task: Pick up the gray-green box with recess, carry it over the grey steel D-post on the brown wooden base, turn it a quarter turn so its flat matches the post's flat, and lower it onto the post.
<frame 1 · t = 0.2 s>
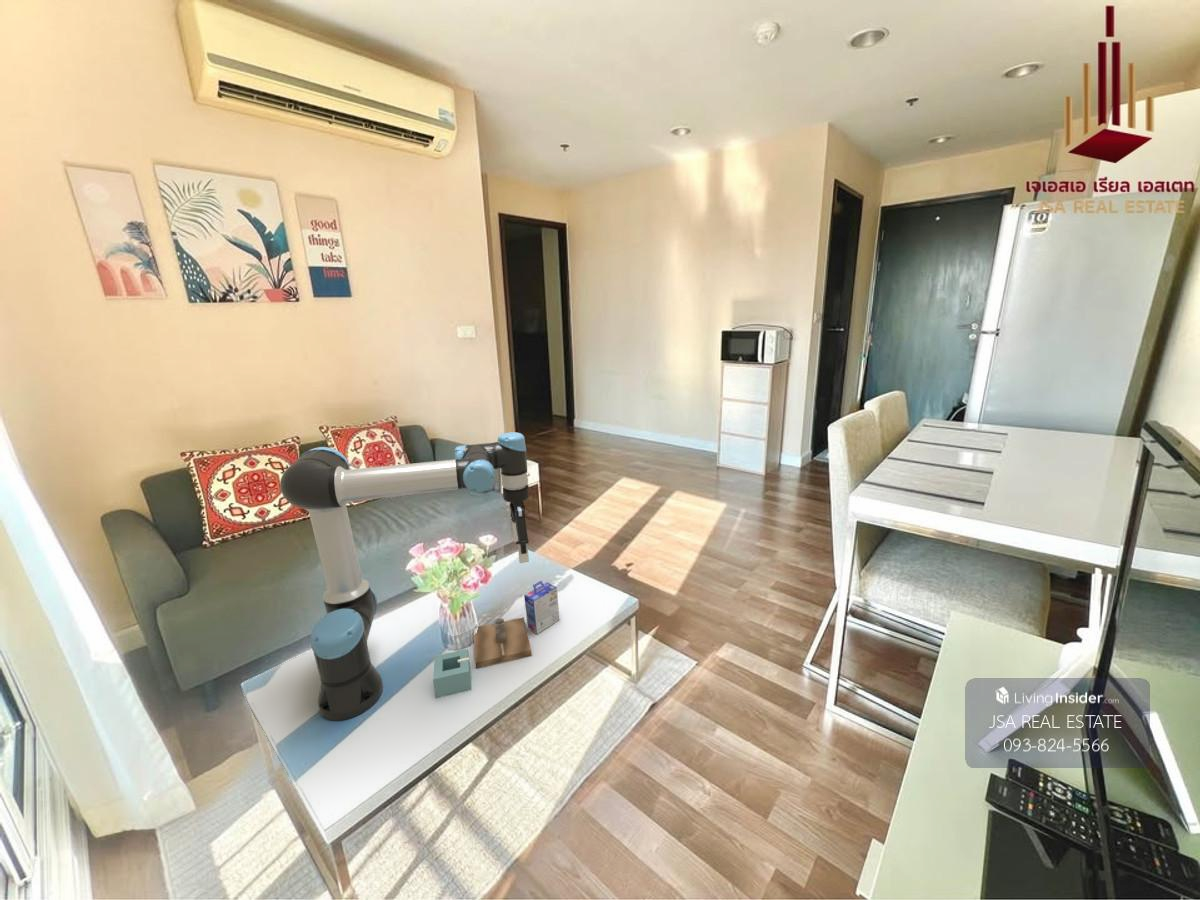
hand: (520, 551, 140), 28 cm above the table, fingers open, 13 cm apart
brown wooden base: (501, 643, 141), on the table
ink cartridge box: (543, 624, 150), on the table
gray-green box with recess: (453, 681, 127), on the table
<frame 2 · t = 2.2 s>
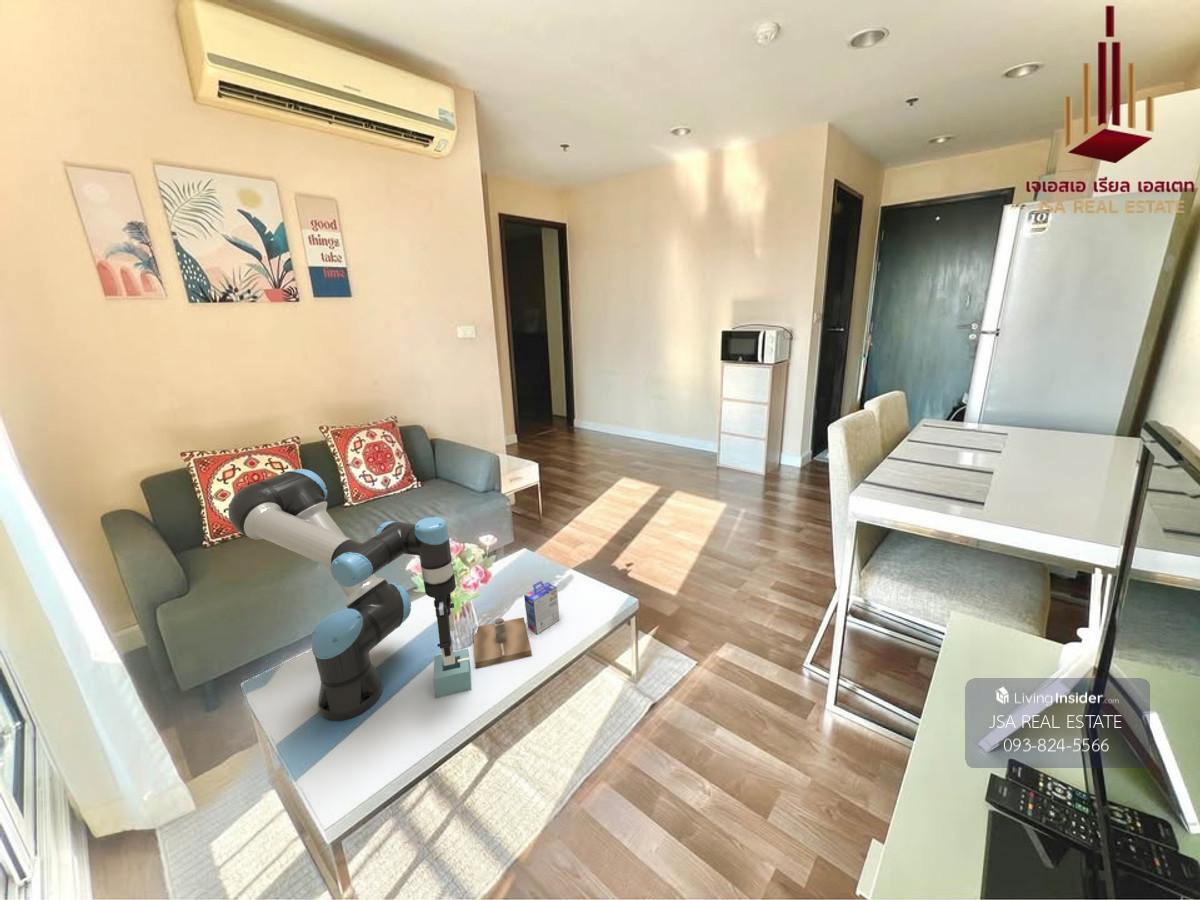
hand: (449, 646, 124), 12 cm above the table, fingers open, 13 cm apart
nothing on the table moved.
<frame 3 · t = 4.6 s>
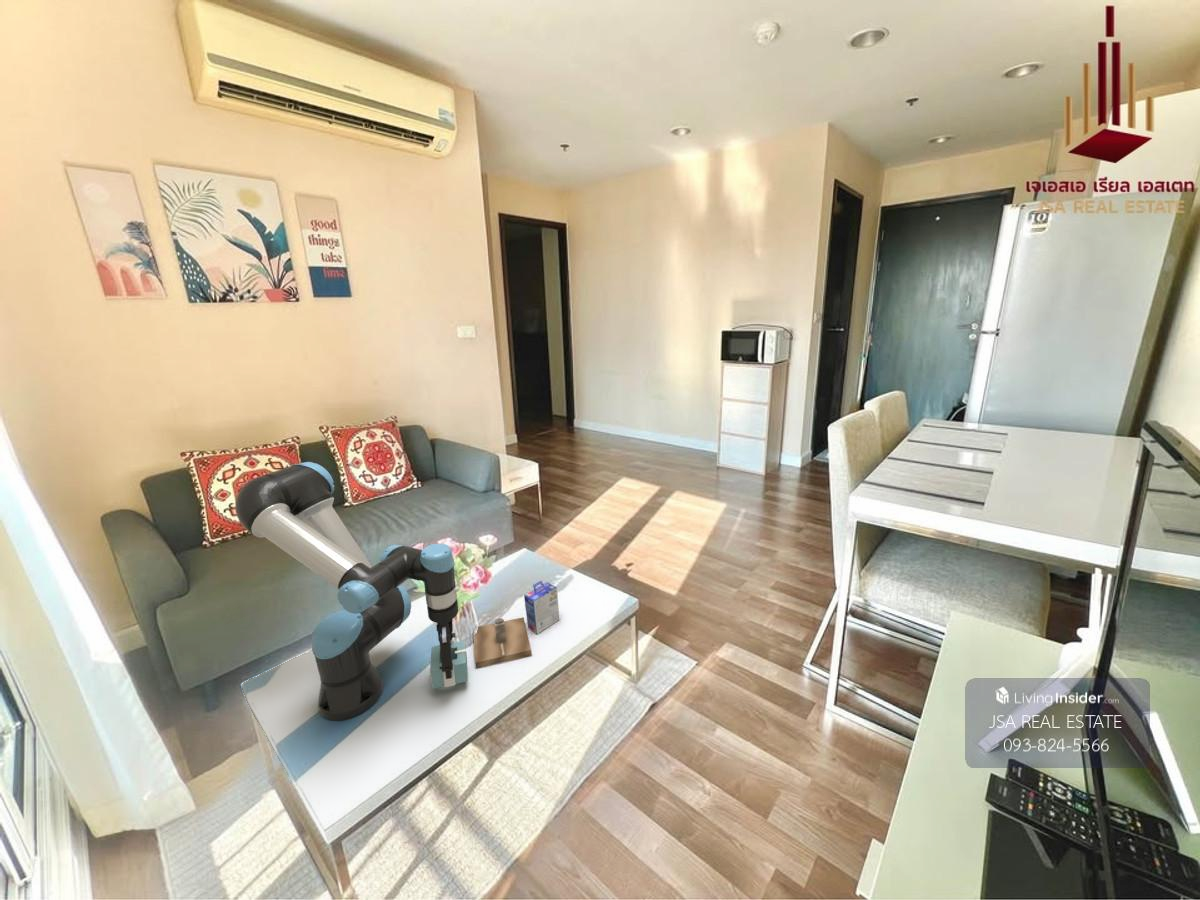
hand: (450, 671, 127), 3 cm above the table, fingers closed on gray-green box with recess, 9 cm apart
gray-green box with recess: (450, 672, 127), point 3 cm above the table, touching gripper
everything else where it was.
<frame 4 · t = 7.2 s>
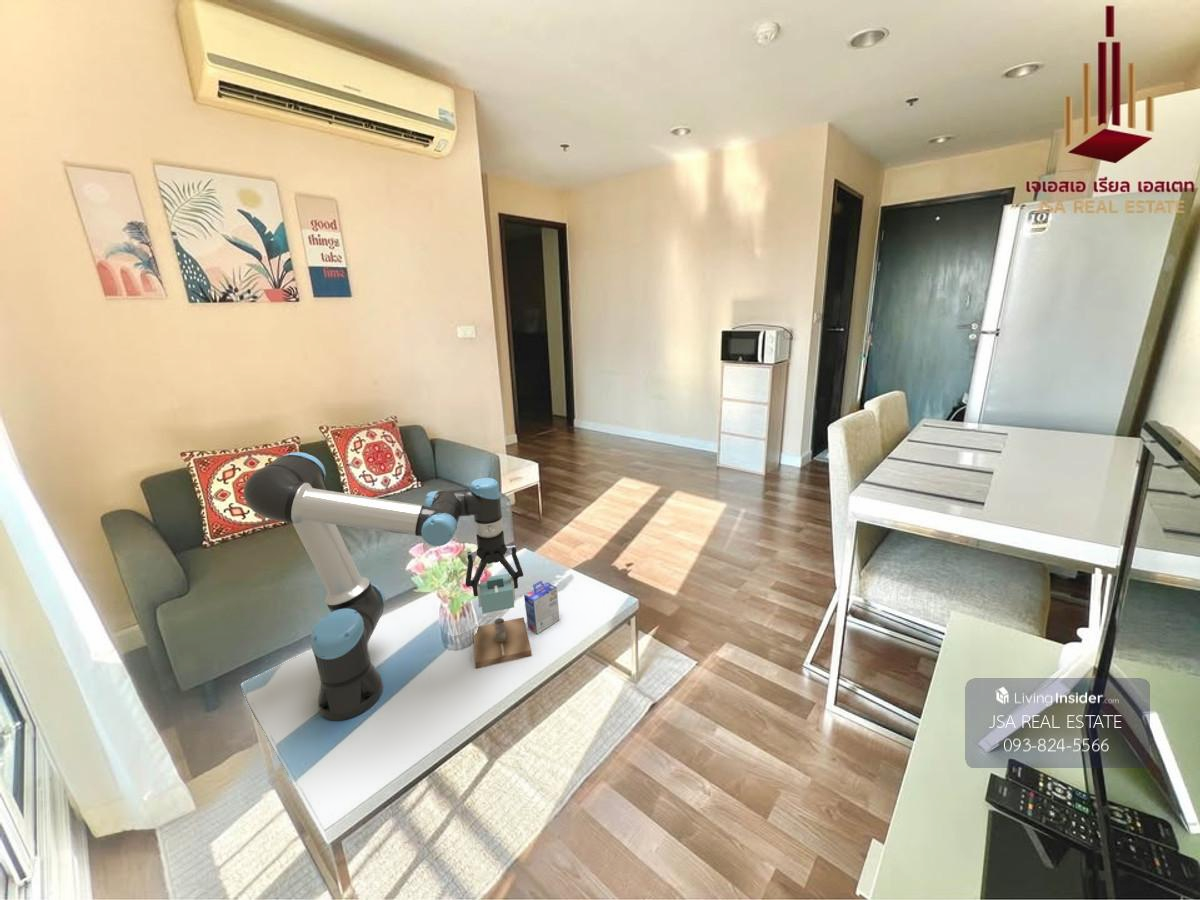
hand: (497, 600, 137), 15 cm above the table, fingers closed on gray-green box with recess, 9 cm apart
gray-green box with recess: (497, 601, 137), point 15 cm above the table, touching gripper
everything else where it was.
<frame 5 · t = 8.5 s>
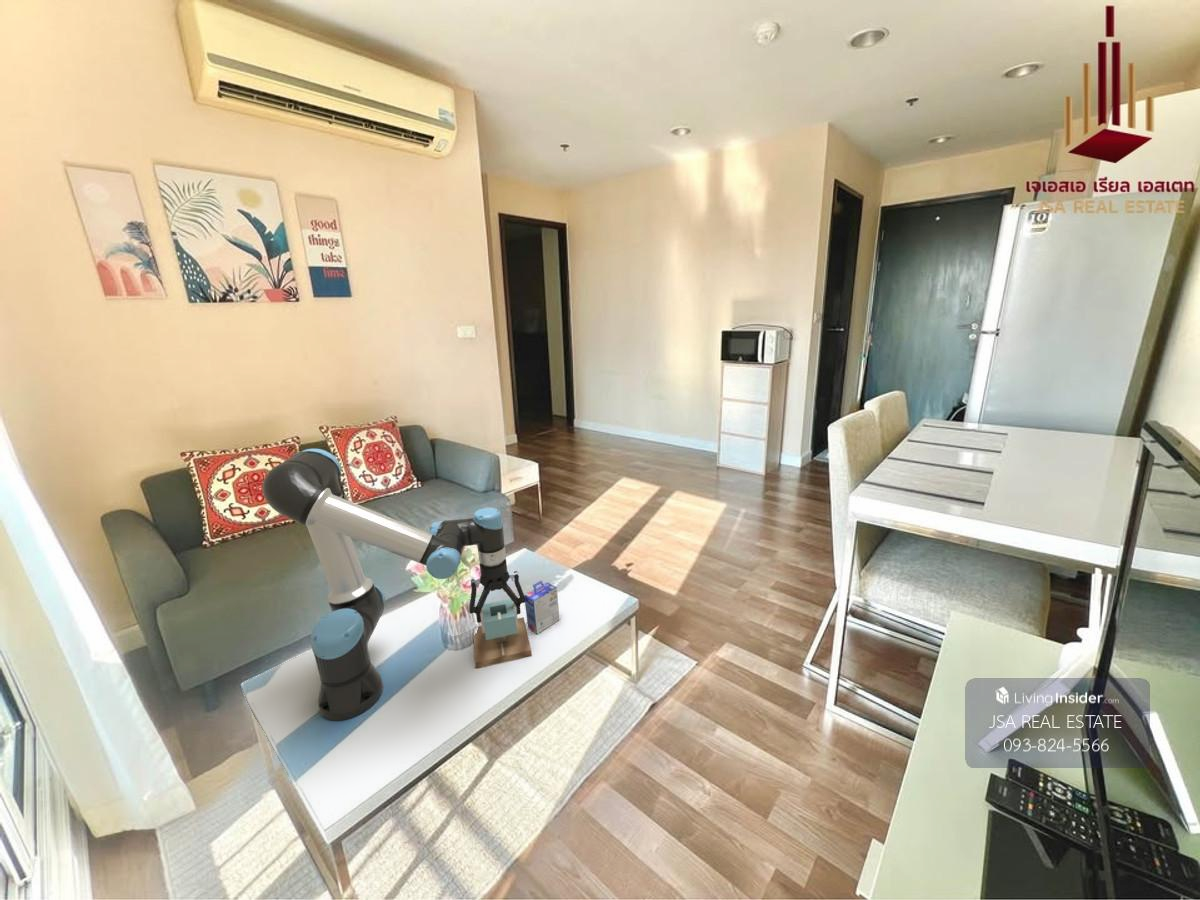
hand: (500, 626, 140), 6 cm above the table, fingers closed on gray-green box with recess, 9 cm apart
gray-green box with recess: (500, 627, 139), point 6 cm above the table, touching gripper
everything else where it was.
when the fingers open (3 cm above the table, at t = 9.5 s): gray-green box with recess drops 1 cm, resting on brown wooden base.
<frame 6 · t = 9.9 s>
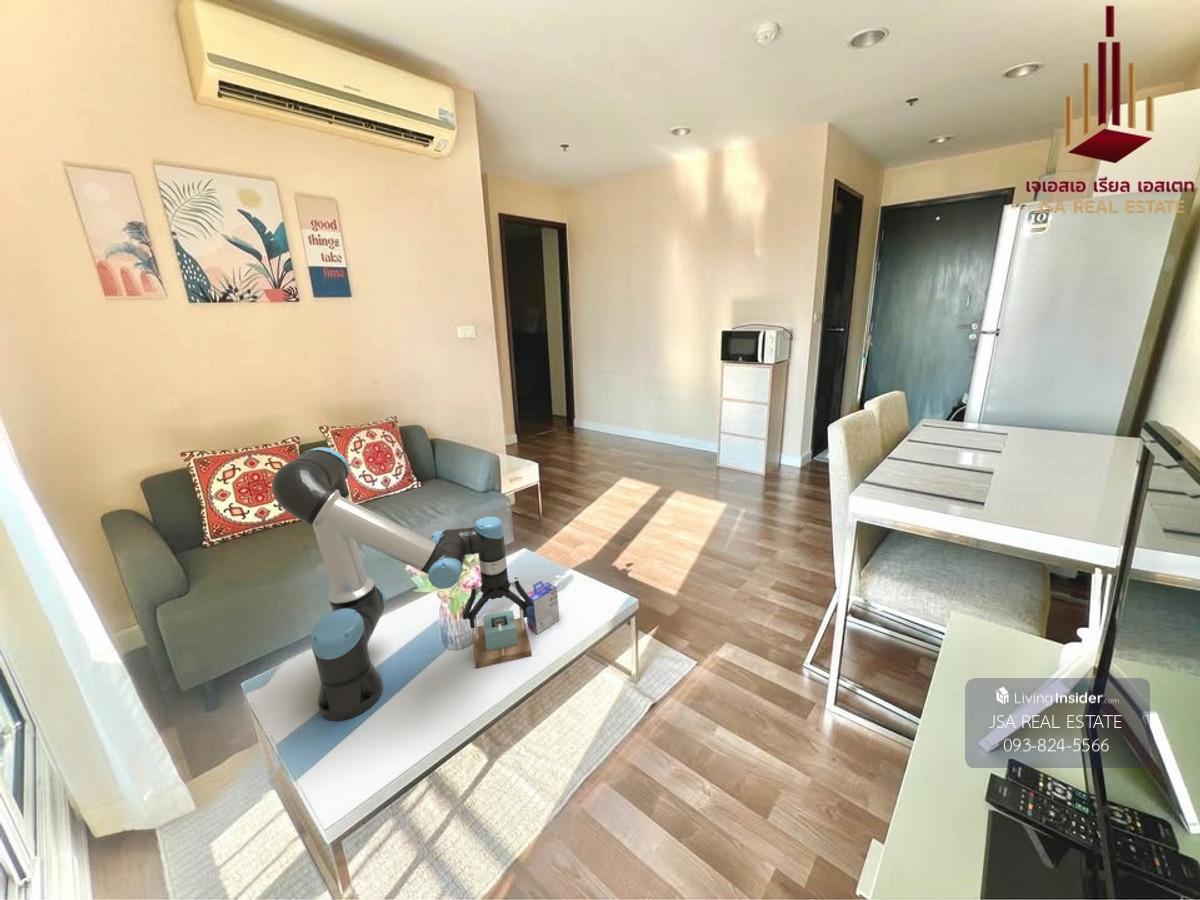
hand: (500, 630, 140), 5 cm above the table, fingers open, 13 cm apart
gray-green box with recess: (501, 638, 141), point 2 cm above the table, touching brown wooden base
everything else where it was.
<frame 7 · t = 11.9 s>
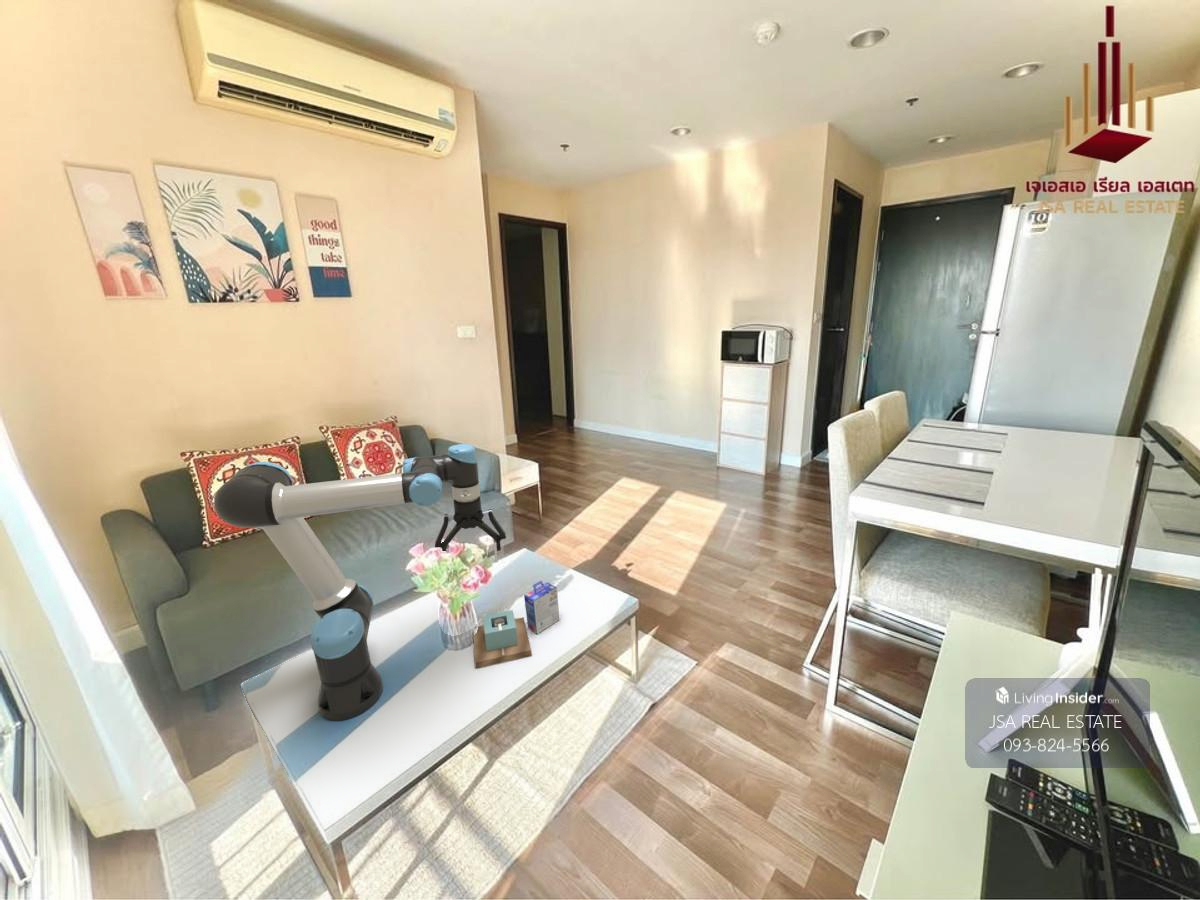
hand: (473, 563, 139), 25 cm above the table, fingers open, 13 cm apart
nothing on the table moved.
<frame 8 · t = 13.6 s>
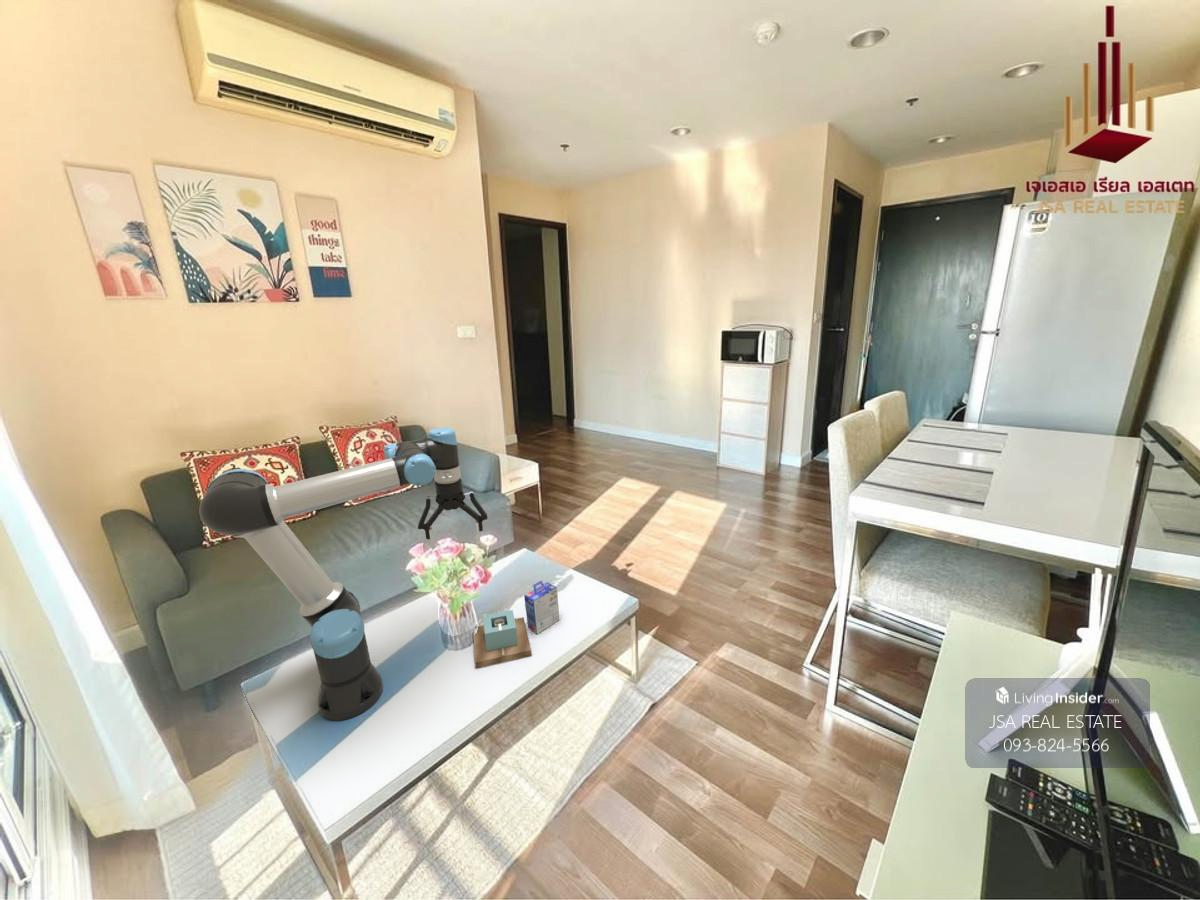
hand: (456, 544, 143), 29 cm above the table, fingers open, 13 cm apart
nothing on the table moved.
at the end: gray-green box with recess 0.1 cm off-centre on the brown wooden base, point 2.1 cm above the brown wooden base's base; gray-green box with recess tilted 1°; the gripper is holding nothing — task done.
